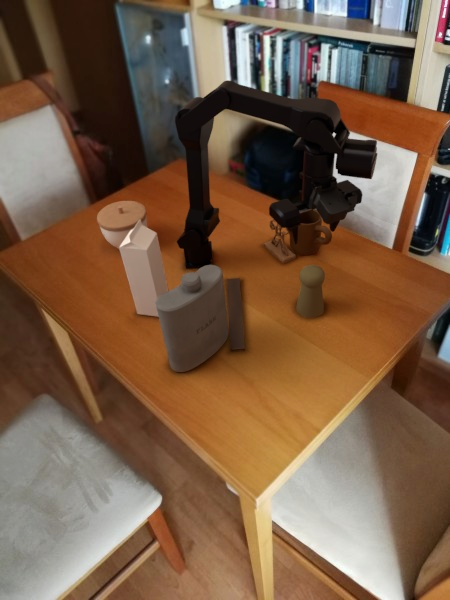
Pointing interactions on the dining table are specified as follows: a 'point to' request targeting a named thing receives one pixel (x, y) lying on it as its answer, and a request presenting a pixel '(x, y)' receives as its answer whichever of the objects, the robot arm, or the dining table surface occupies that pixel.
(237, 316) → the walnut ruler
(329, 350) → the dining table surface
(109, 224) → the lidded bowl
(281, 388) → the dining table surface
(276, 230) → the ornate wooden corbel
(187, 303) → the flask
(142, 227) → the milk
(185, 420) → the dining table surface
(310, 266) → the olive pepper mill
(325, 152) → the robot arm
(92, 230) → the dining table surface
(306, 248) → the mug
